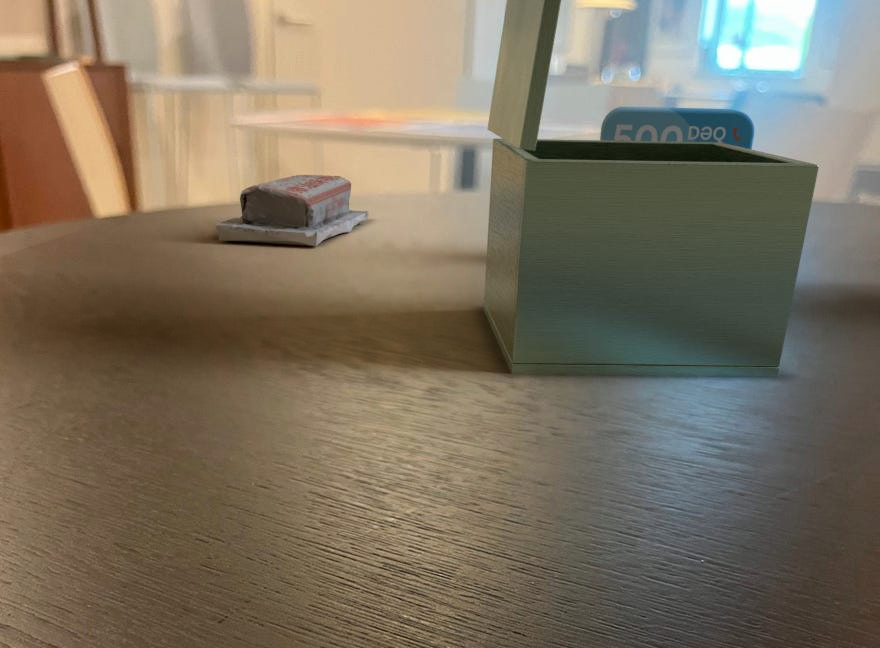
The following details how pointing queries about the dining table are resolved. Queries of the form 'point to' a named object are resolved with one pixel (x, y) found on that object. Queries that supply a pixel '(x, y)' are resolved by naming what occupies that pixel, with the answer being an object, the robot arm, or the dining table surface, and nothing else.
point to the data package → (678, 125)
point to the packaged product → (293, 211)
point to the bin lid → (523, 70)
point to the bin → (643, 256)
